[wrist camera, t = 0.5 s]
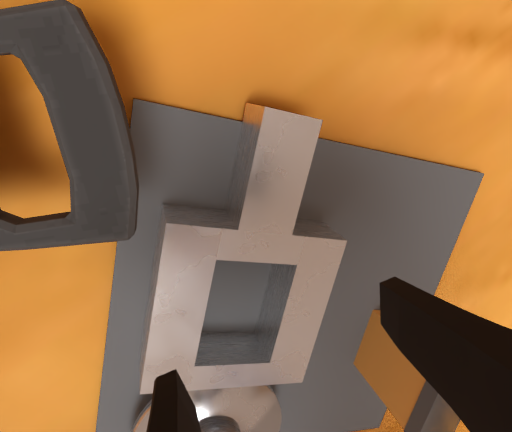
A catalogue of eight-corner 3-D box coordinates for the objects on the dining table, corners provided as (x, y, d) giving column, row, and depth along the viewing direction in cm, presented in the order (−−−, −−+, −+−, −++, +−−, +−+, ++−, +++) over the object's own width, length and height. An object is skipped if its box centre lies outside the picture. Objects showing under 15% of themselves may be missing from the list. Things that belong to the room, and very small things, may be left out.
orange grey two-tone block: (383, 362, 29) (450, 439, 23) (352, 364, 28) (414, 444, 22) (404, 309, 28) (482, 376, 21) (372, 309, 27) (444, 379, 20)
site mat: (376, 423, 33) (378, 427, 32) (92, 461, 24) (91, 466, 24) (479, 172, 26) (484, 173, 25) (133, 98, 17) (133, 98, 17)
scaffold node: (254, 453, 28) (277, 523, 24) (121, 473, 25) (118, 559, 20) (349, 126, 21) (408, 139, 16) (179, 86, 17) (194, 89, 13)
